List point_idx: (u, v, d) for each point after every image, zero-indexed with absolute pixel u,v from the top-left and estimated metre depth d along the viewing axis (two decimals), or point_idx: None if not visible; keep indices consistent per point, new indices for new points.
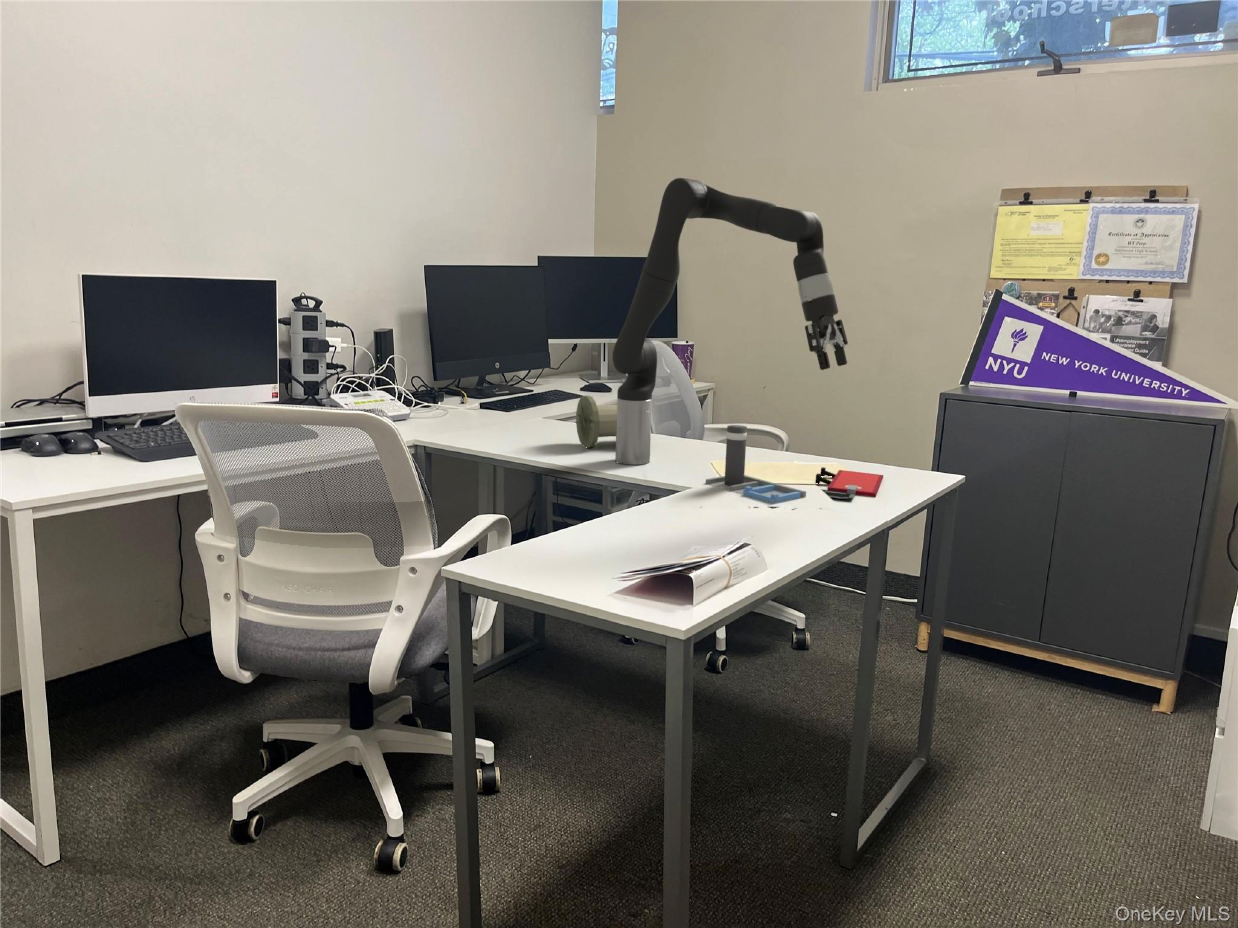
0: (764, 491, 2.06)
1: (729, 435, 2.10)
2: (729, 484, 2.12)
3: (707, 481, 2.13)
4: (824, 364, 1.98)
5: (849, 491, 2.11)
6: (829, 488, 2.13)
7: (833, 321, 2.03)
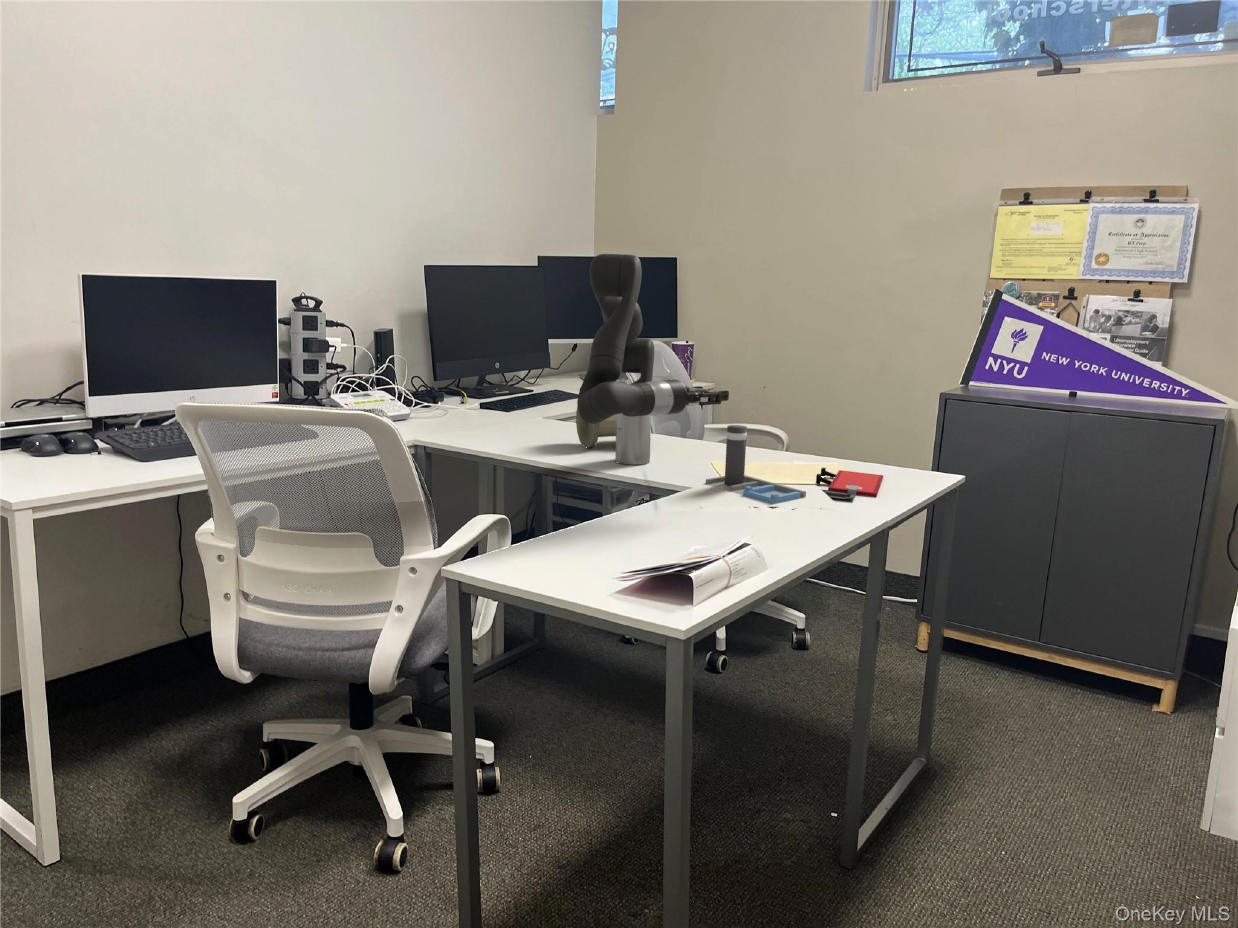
0: (764, 491, 2.06)
1: (729, 435, 2.10)
2: (729, 484, 2.12)
3: (707, 481, 2.13)
4: None
5: (850, 491, 2.11)
6: (830, 488, 2.13)
7: (689, 402, 1.95)
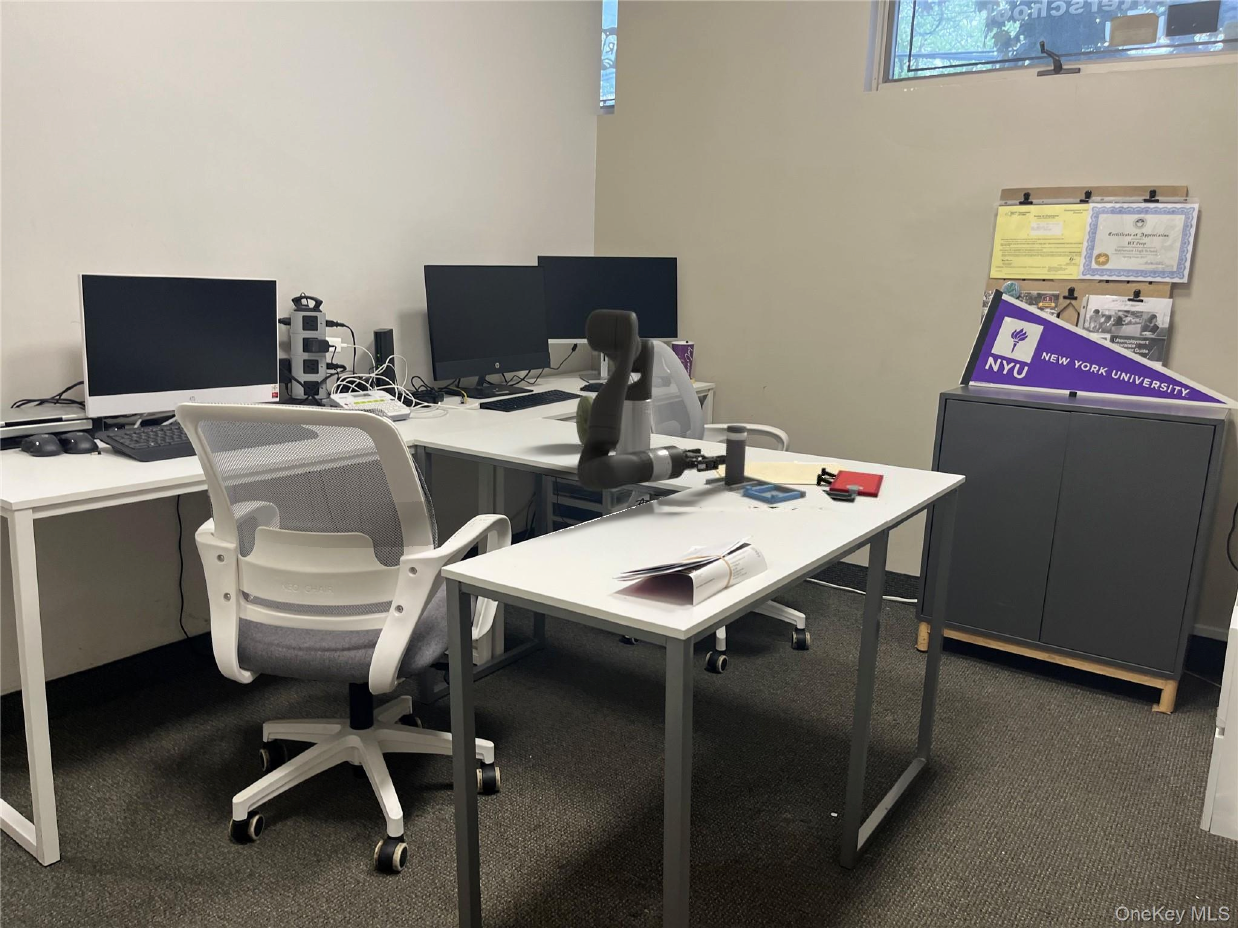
0: (764, 491, 2.06)
1: (728, 435, 2.10)
2: (729, 484, 2.12)
3: (707, 481, 2.13)
4: None
5: (851, 491, 2.10)
6: (831, 488, 2.13)
7: None
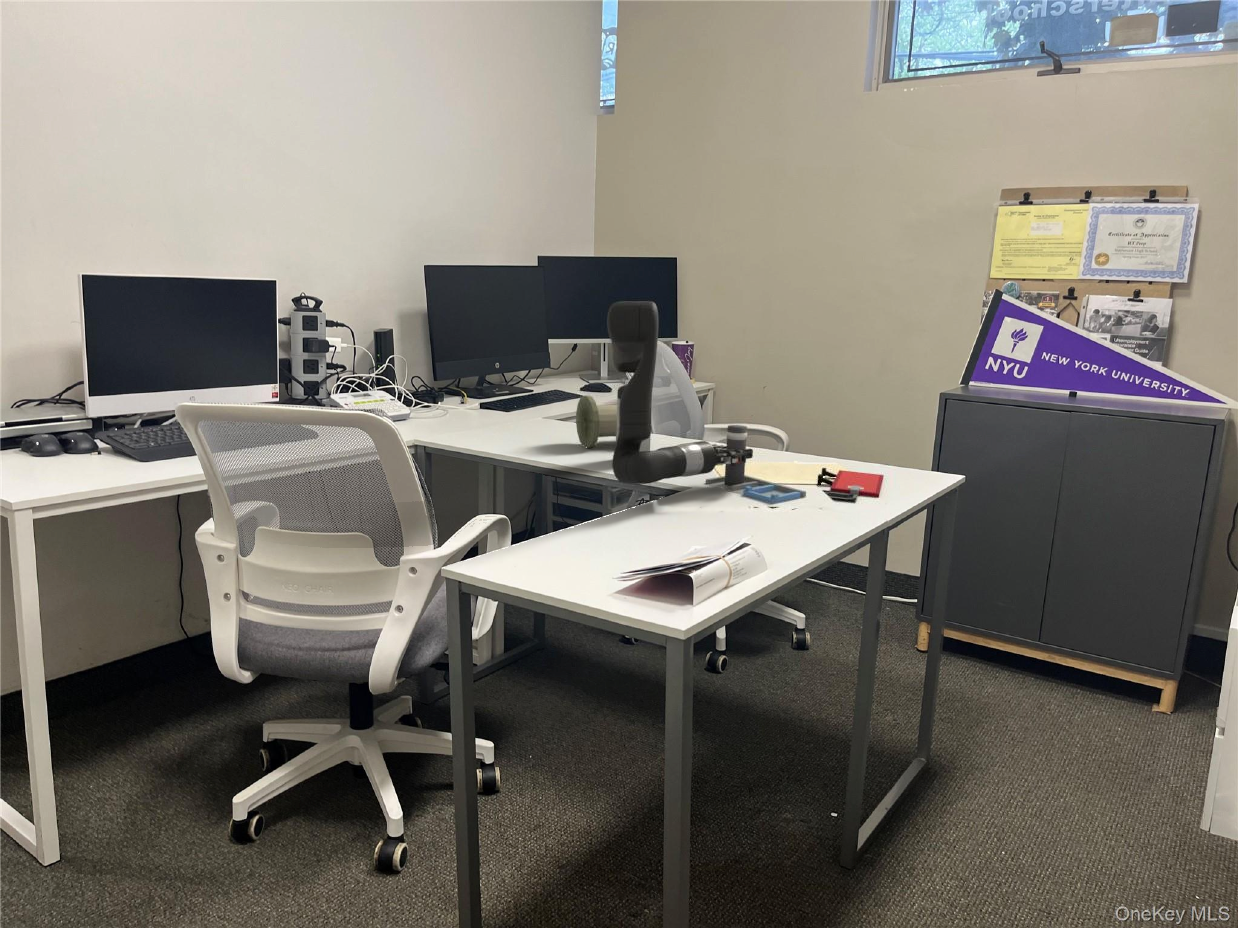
0: (764, 491, 2.06)
1: (729, 435, 2.10)
2: (729, 484, 2.12)
3: (707, 481, 2.13)
4: None
5: (852, 492, 2.10)
6: (832, 489, 2.13)
7: None
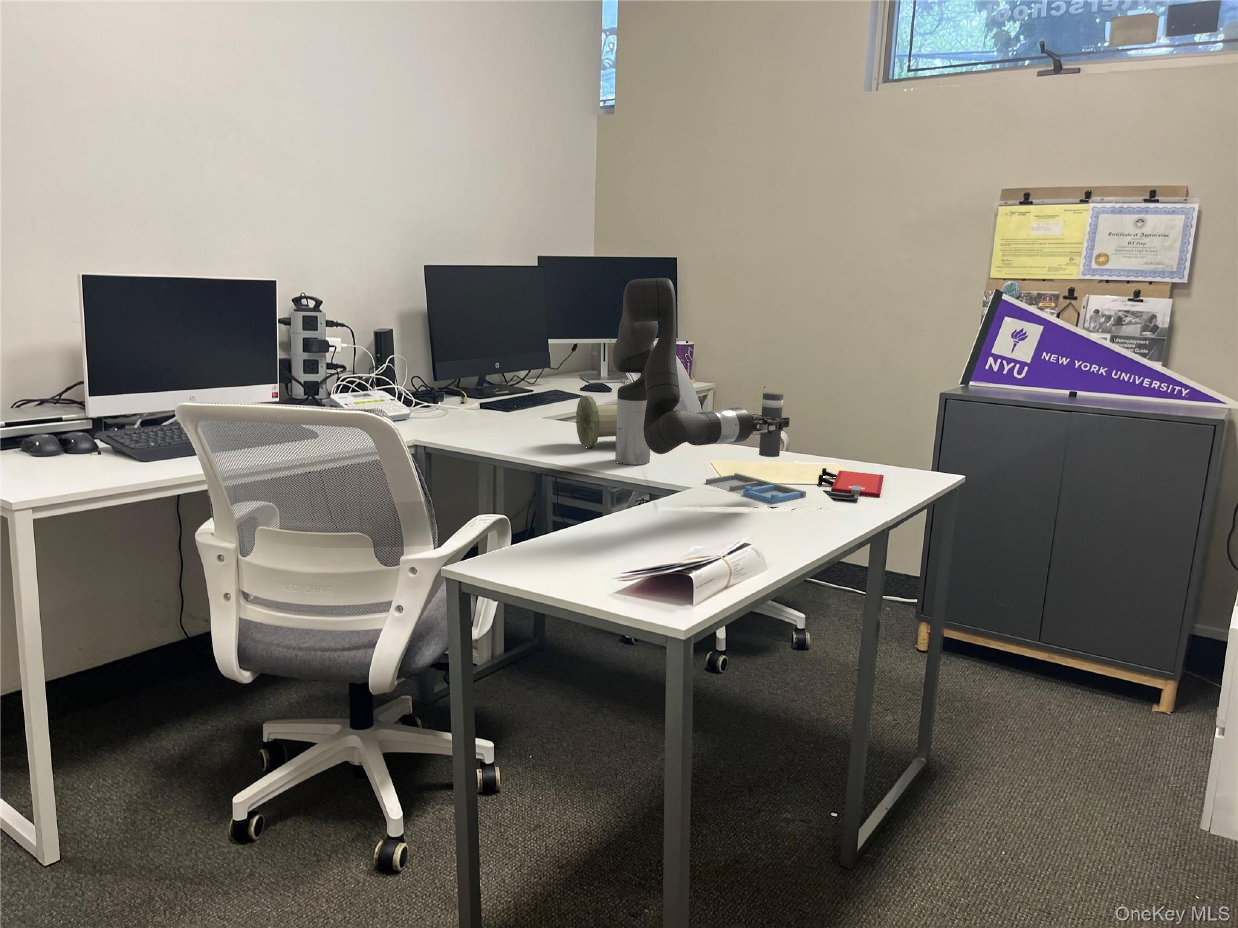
0: (764, 491, 2.06)
1: (764, 402, 1.99)
2: (764, 454, 2.01)
3: (707, 481, 2.13)
4: None
5: (853, 492, 2.10)
6: (833, 489, 2.12)
7: None
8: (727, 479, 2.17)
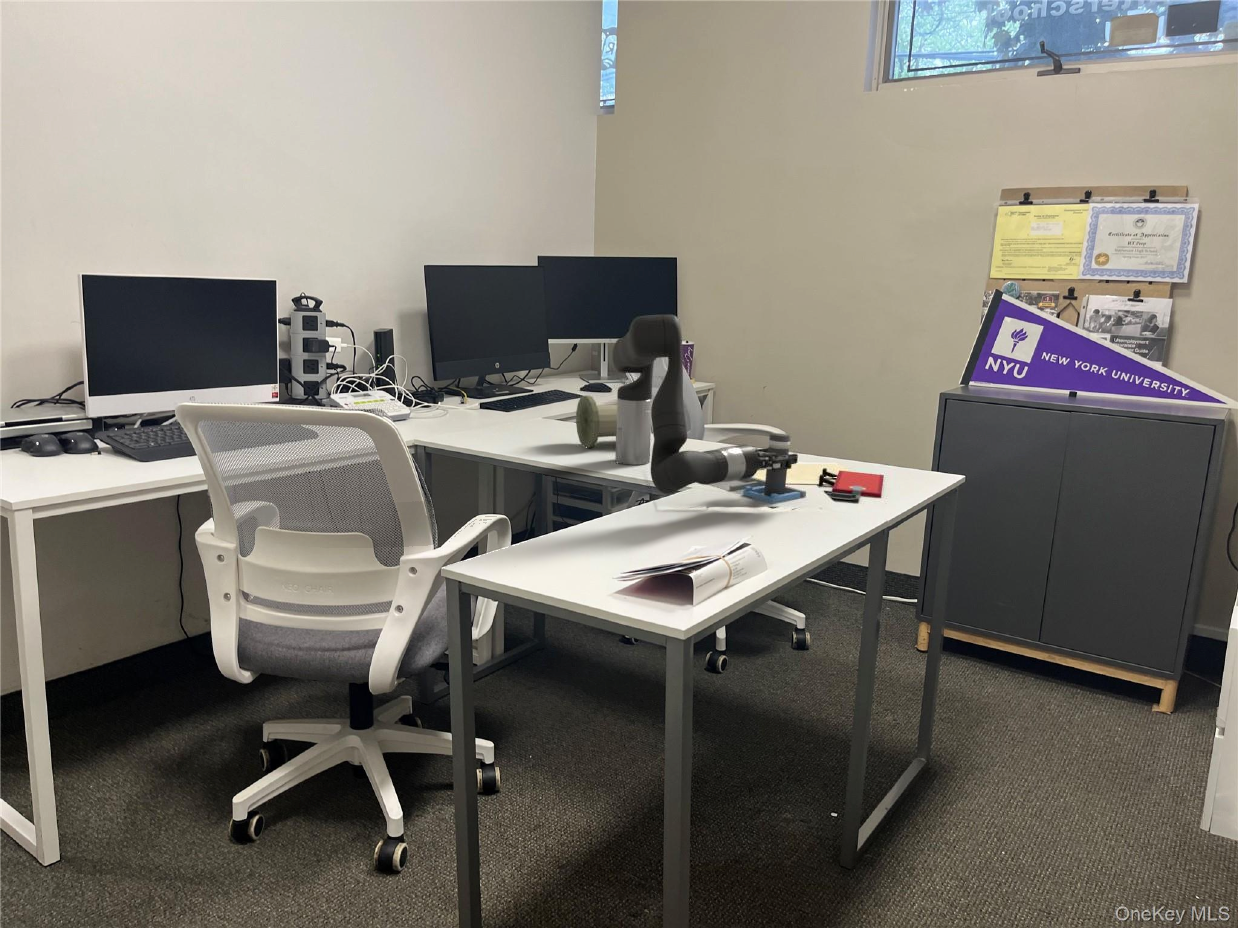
0: None
1: (771, 443, 2.00)
2: (769, 495, 2.02)
3: None
4: None
5: (854, 492, 2.10)
6: (834, 489, 2.12)
7: None
8: None
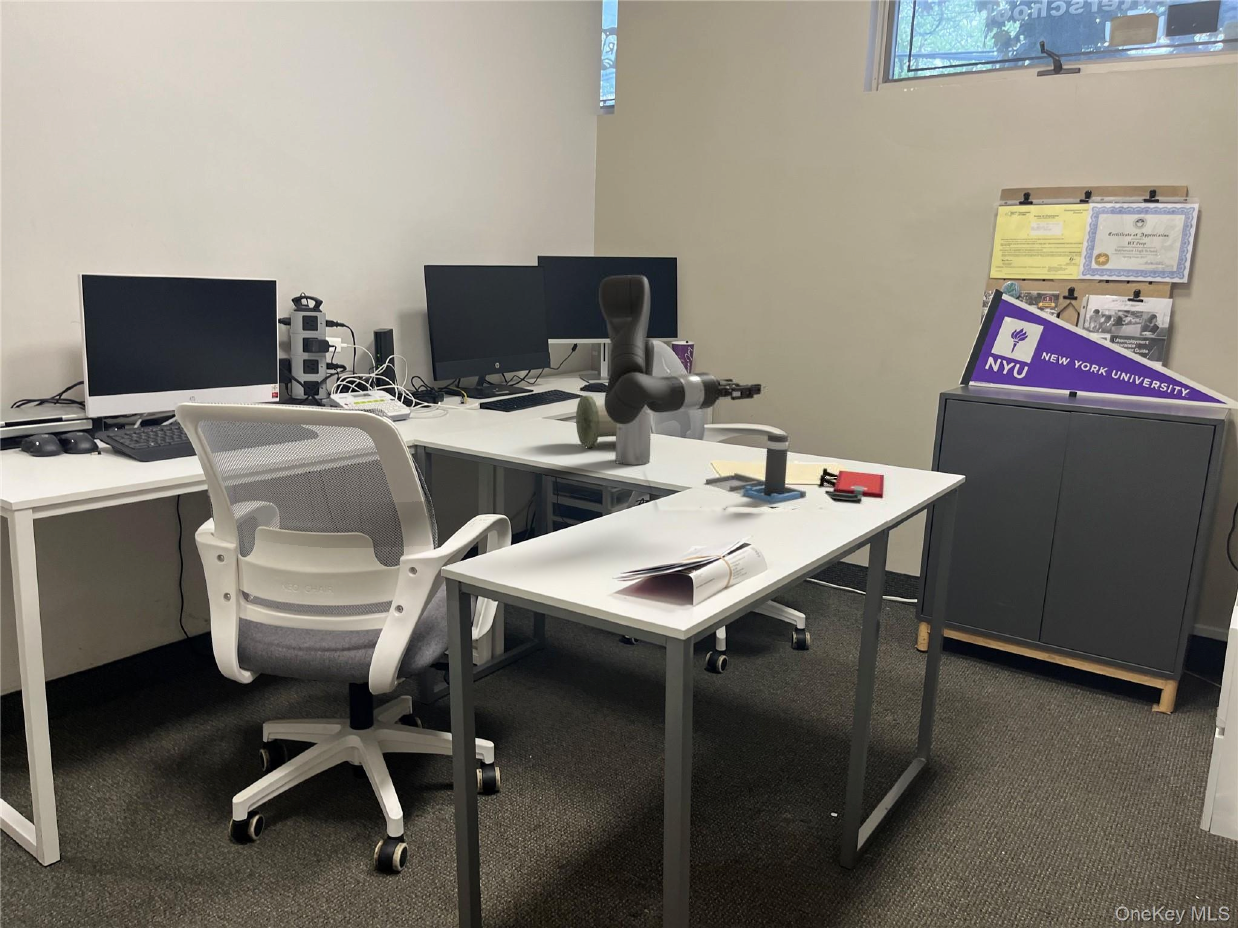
0: None
1: (769, 444, 2.00)
2: (769, 495, 2.02)
3: (707, 481, 2.13)
4: None
5: (856, 492, 2.10)
6: (836, 489, 2.12)
7: None
8: (727, 479, 2.17)
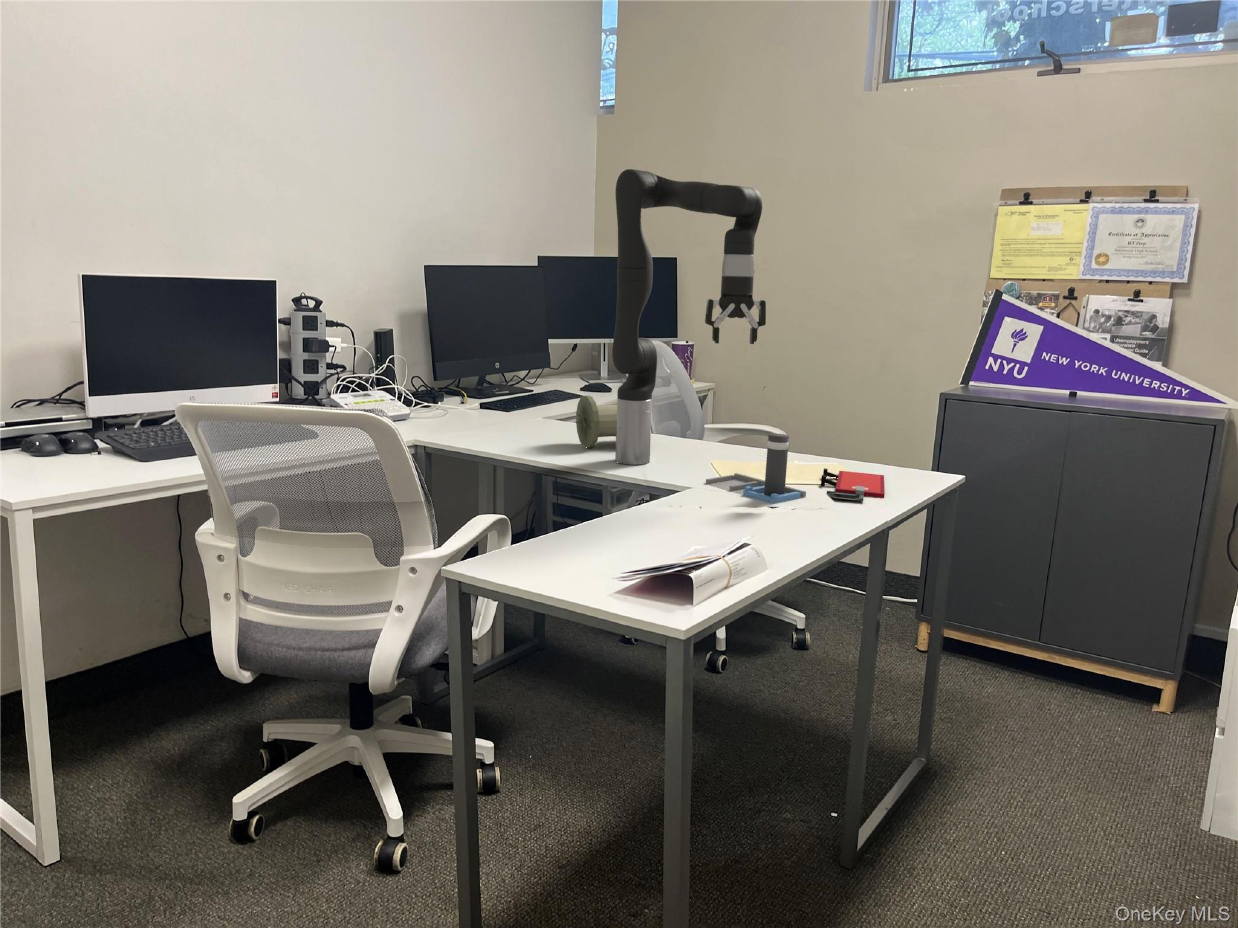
0: None
1: (770, 444, 2.00)
2: (769, 495, 2.02)
3: (707, 481, 2.13)
4: (713, 339, 2.13)
5: (858, 492, 2.10)
6: (837, 489, 2.12)
7: (748, 301, 2.11)
8: (727, 479, 2.17)
